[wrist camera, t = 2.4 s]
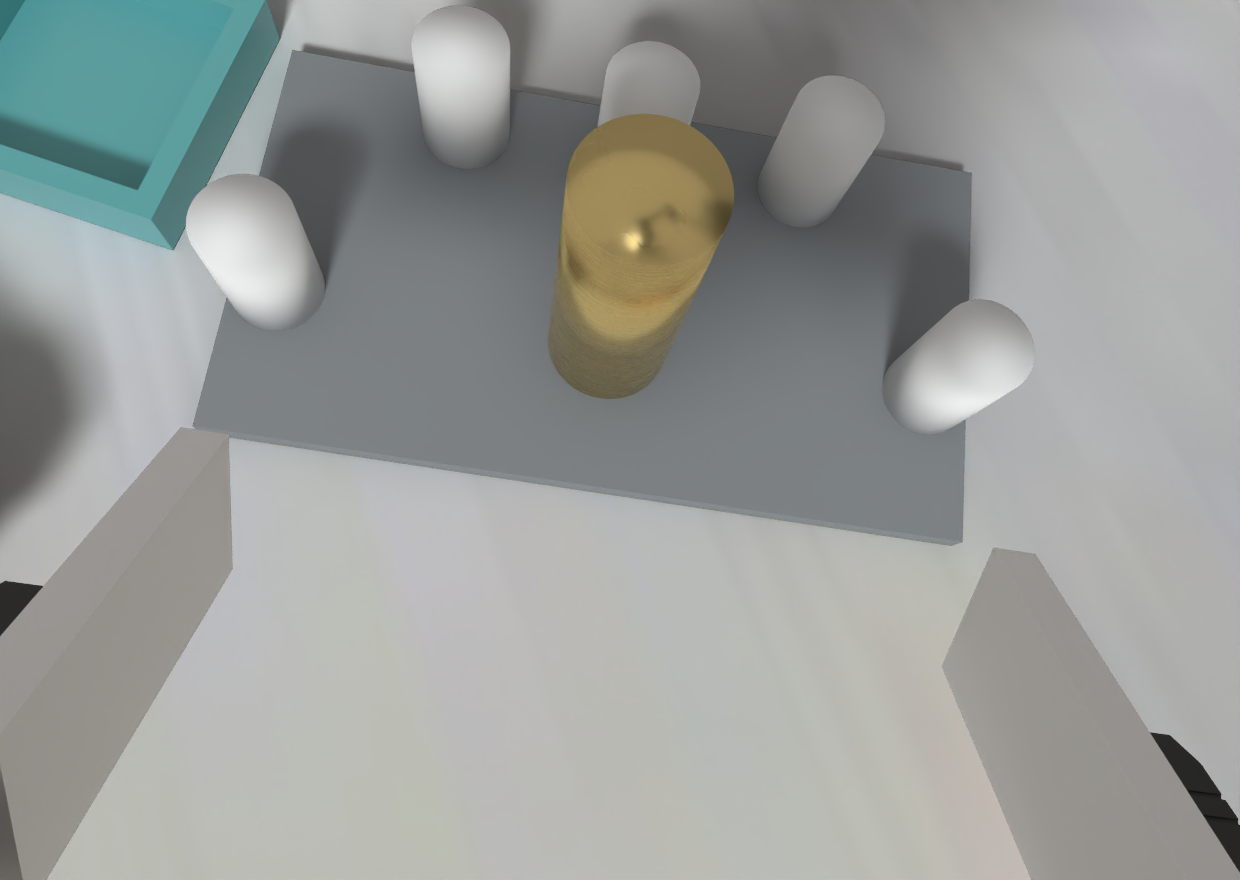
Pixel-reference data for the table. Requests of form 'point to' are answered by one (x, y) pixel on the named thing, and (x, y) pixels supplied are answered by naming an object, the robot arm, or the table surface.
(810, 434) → the board
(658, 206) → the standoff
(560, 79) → the table surface
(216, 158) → the tray
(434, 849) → the table surface
